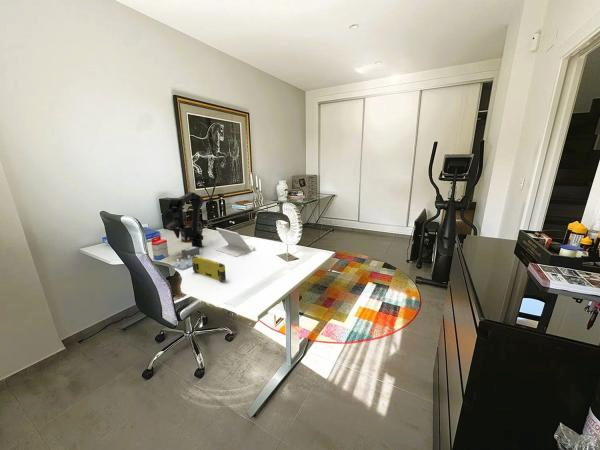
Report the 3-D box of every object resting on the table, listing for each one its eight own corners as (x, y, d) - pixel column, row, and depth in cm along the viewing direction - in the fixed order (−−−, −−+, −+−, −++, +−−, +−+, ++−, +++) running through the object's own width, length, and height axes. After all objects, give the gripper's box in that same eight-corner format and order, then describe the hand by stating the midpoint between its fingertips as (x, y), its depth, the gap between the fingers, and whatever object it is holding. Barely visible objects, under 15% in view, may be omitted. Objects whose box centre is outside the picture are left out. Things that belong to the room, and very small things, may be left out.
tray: (193, 258, 166) (193, 253, 165) (204, 261, 161) (204, 256, 160) (171, 266, 152) (170, 261, 152) (182, 270, 147) (182, 264, 146)
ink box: (159, 260, 163) (156, 239, 159) (153, 259, 164) (150, 238, 160) (169, 255, 171) (166, 235, 167) (162, 255, 172) (160, 235, 168)
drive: (194, 252, 177) (194, 245, 176) (199, 254, 174) (199, 247, 173) (182, 257, 169) (181, 250, 167) (187, 258, 166) (186, 251, 165)
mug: (187, 243, 196) (185, 225, 192) (177, 241, 203) (175, 223, 199) (207, 237, 212) (206, 221, 208) (198, 235, 219) (196, 219, 215)
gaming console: (228, 280, 135) (226, 263, 132) (222, 283, 131) (220, 266, 129) (198, 270, 147) (196, 254, 145) (191, 273, 144) (190, 257, 141)
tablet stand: (236, 257, 168) (235, 233, 164) (215, 250, 183) (213, 228, 179) (255, 250, 182) (254, 228, 178) (234, 243, 197) (233, 223, 193)
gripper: (159, 218, 161) (162, 240, 165) (175, 221, 151) (179, 245, 155) (175, 214, 170) (178, 236, 174) (191, 218, 160) (194, 240, 164)
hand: (182, 239), depth 167 cm, fingers open, 9 cm apart
